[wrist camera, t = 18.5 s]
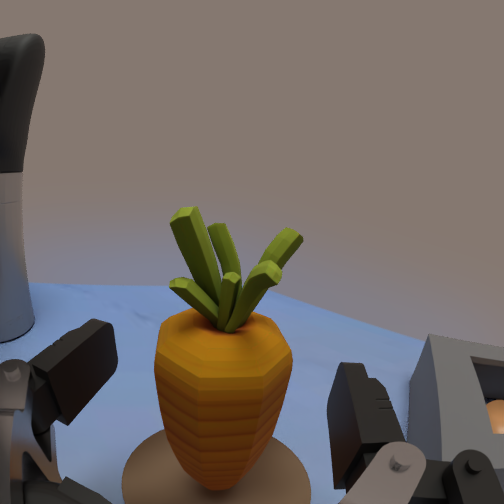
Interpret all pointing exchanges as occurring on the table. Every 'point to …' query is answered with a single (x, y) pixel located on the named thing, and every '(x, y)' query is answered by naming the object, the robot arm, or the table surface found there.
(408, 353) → the table surface
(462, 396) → the box
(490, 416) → the button
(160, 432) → the walnut pad
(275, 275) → the carrot
